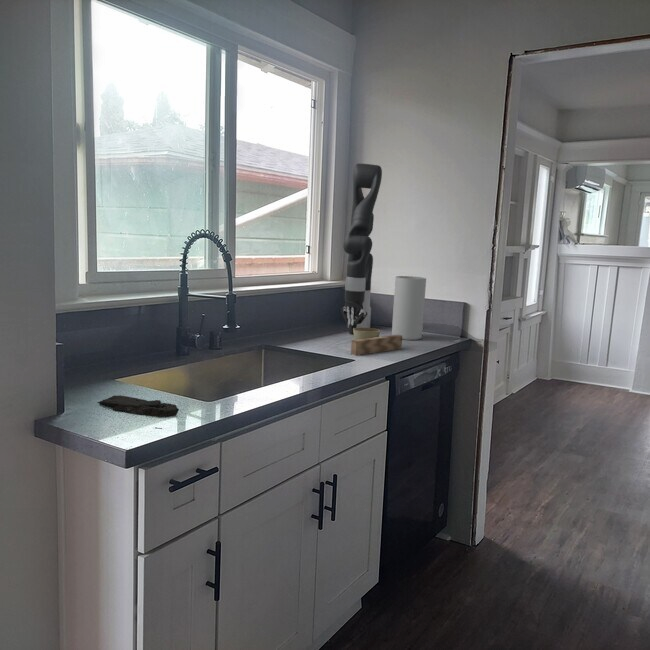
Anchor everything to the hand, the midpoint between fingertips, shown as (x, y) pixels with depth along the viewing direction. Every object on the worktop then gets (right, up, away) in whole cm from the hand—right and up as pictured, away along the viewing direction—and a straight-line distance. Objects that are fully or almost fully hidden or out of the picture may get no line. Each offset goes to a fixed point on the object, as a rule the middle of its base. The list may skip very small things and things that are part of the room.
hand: (352, 334), depth 237 cm
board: (+9, -6, -9) cm, 14 cm away
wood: (-55, -17, -90) cm, 106 cm away
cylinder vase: (+24, -2, +22) cm, 32 cm away
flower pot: (+5, -5, -5) cm, 9 cm away
